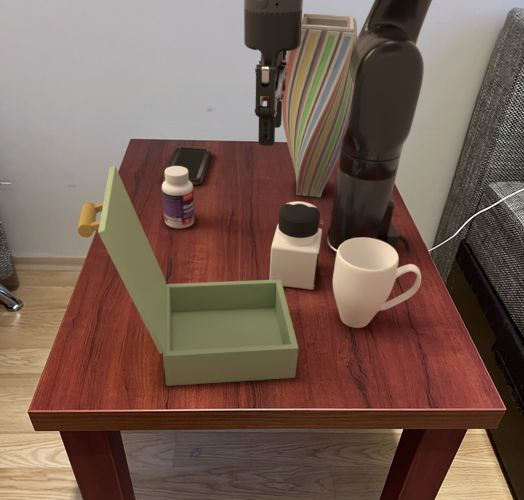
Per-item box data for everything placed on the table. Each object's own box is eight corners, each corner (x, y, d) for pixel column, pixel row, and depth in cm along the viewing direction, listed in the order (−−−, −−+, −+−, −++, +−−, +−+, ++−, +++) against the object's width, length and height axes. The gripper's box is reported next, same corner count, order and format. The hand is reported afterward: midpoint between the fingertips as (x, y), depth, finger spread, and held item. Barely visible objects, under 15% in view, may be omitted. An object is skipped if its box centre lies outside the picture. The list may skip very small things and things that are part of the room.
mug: (326, 334, 77) (337, 267, 69) (327, 299, 83) (337, 234, 76) (410, 342, 77) (431, 276, 69) (405, 306, 83) (423, 241, 75)
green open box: (278, 308, 81) (280, 279, 78) (295, 377, 71) (298, 348, 67) (166, 313, 79) (163, 284, 76) (166, 386, 69) (162, 355, 65)
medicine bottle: (313, 291, 85) (322, 222, 76) (268, 285, 85) (272, 217, 77) (317, 265, 90) (326, 199, 82) (275, 260, 90) (279, 193, 82)
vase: (342, 178, 114) (366, 14, 94) (342, 209, 104) (369, 33, 84) (278, 172, 115) (288, 8, 94) (272, 203, 105) (282, 27, 84)
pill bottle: (189, 231, 96) (186, 179, 90) (160, 227, 97) (155, 175, 90) (198, 216, 100) (196, 165, 93) (170, 212, 101) (166, 162, 94)
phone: (211, 149, 119) (200, 180, 108) (211, 154, 120) (200, 185, 109) (176, 147, 119) (161, 177, 108) (176, 152, 120) (161, 182, 109)
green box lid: (115, 165, 63) (80, 175, 64) (104, 230, 53) (63, 241, 53) (165, 281, 75) (136, 288, 76) (165, 352, 65) (131, 361, 65)
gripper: (297, 14, 64) (291, 153, 74) (306, 0, 75) (299, 122, 85) (234, 12, 64) (236, 149, 75) (252, -2, 75) (252, 120, 86)
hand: (270, 135), depth 80 cm, fingers open, 8 cm apart
